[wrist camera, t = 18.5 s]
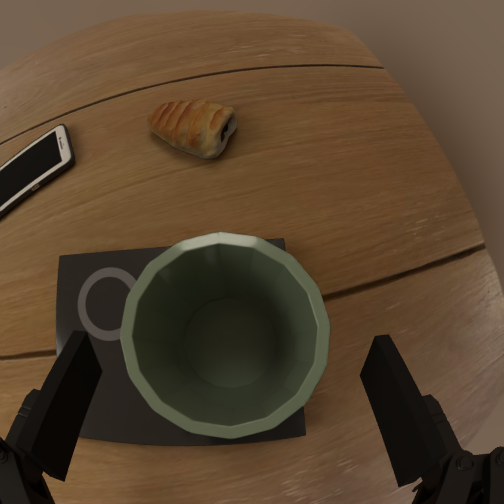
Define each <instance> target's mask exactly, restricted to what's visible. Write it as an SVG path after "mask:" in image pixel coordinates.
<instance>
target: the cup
mask: <svg viewBox="0 0 504 504" xmlns="http://www.w3.org/2000/svg"><path fill="white" fill-rule="evenodd" d="M330 330H331V326H330V321H329V318H328V314H327V311H326V308H325V305H324V302H323V299H322V295H321V292H320V289H319V288H318V285H317V284H316V283H315V282H314V281H313V279H312V278H311V277H310V276H309V274H308V273H307V272H306V271H305V270H304V268H303V267H302V266H301V265H300V264H299V262H298V261H297V260H296V259H295V258H294V257H292V255H290V254H289V253H287V252H285V251H283V250H281V249H280V248H278V247H276V246H274V245H272V244H270V243H269V242H267V241H265V240H263V239H261V238H259V237H257V236H250V235H242V234H235V233H227V232H215V233H210V234H206V235H202V236H198V237H194V238H190V239H186V240H182V241H181V242H178V243H177V244H175V245H174V246H172V247H171V248H169V249H168V250H167V251H165V252H164V253H162V254H161V255H159V256H158V257H157V258H155V259H154V260H152V261H151V262H150V263H149V264H148V265H147V266H146V268H145V269H144V271H143V272H142V274H141V275H140V277H139V278H138V280H137V282H136V283H135V285H134V286H133V288H132V289H131V291H130V293H129V294H128V296H127V299H126V304H125V309H124V314H123V320H122V326H121V332H120V340H121V345H122V349H123V354H124V358H125V363H126V367H127V371H128V375H129V377H130V379H131V380H132V382H133V383H134V385H135V386H136V388H137V389H138V390H139V392H140V393H141V395H142V396H143V397H144V399H145V400H146V401H147V403H148V404H149V406H150V407H151V408H152V409H153V410H154V411H155V412H157V413H158V414H160V415H161V416H163V417H164V418H166V419H168V420H169V421H171V422H172V423H174V424H176V425H177V426H179V427H181V428H182V429H184V430H186V431H188V432H191V433H195V434H201V435H207V436H213V437H220V438H228V439H235V438H239V437H243V436H247V435H251V434H255V433H259V432H263V431H266V430H270V429H272V428H275V427H276V426H278V425H279V424H280V423H282V422H283V421H284V420H286V419H287V418H288V417H289V416H291V415H292V414H293V413H295V412H296V411H297V410H298V409H300V408H301V407H302V406H303V405H305V404H306V402H307V401H308V400H309V398H310V396H311V395H312V393H313V391H314V389H315V387H316V386H317V384H318V382H319V380H320V378H321V377H322V375H323V373H324V371H325V369H326V366H327V361H328V352H329V341H330Z"/></svg>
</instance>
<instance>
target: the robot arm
mask: <svg viewBox="0 0 504 504" xmlns="http://www.w3.org/2000/svg"><path fill="white" fill-rule="evenodd" d="M102 372H103V371H102V368H101V366H100V364H99V361H98V359H97V356H96V354H95V351H94V349H93V346H92V344H91V341H90V338H89V336H88V333H87V332H86V331H78V330H73V332H72V334H71V335H70V337H69V339H68V340H67V342H66V344H65V346H64V347H63V349H62V351H61V353H60V354H59V356H58V358H57V360H56V361H55V363H54V365H53V367H52V369H51V371H50V372H49V374H48V376H47V378H46V380H45V382H44V384H43V386H42V388H41V390H36V389H33V390H32V391H31V392H30V393H29V394H28V395H27V396H26V397H25V399H24V401H23V403H22V405H21V406H22V407H20V409H19V411H18V415H17V416H16V418H15V420H14V422H13V424H12V426H11V428H10V431H9V433H8V435H7V437H6V439H5V441H4V440H3V439H2V438H1V437H0V504H55V502H54V500H53V498H52V496H51V493H50V491H49V489H48V486H47V484H46V482H45V479H44V478H43V476H42V473H43V471H44V472H45V473H46V474H48V475H49V476H50V477H53V478H56V479H58V480H61V481H64V482H65V478H66V475H67V472H68V468H69V465H70V462H71V458H72V455H73V452H74V449H75V446H76V443H77V440H78V437H79V434H80V431H81V428H82V425H83V422H84V419H85V417H86V414H87V411H88V408H89V406H90V403H91V400H92V398H93V395H94V393H95V390H96V387H97V385H98V382H99V380H100V377H101V375H102ZM360 377H361V380H362V383H363V385H364V388H365V391H366V393H367V396H368V399H369V401H370V404H371V407H372V410H373V412H374V415H375V418H376V421H377V423H378V426H379V429H380V432H381V435H382V438H383V441H384V444H385V446H386V449H387V452H388V455H389V458H390V461H391V465H392V468H393V471H394V474H395V477H396V480H397V483H398V487H401V486H404V485H407V484H410V483H413V482H415V481H416V480H418V479H419V478H420V477H421V478H422V480H423V481H422V482H421V483H420V484H418V485H417V486H416V487H415V488H414V489H413V490H412V492H415V491H416V490H418V491H417V493H416V496H415V498H414V500H413V502H412V504H504V447H497V448H495V449H494V450H493V451H492V452H491V453H490V454H481V455H473V454H472V453H470V452H469V451H466V450H463V449H462V448H461V446H460V445H459V443H458V441H457V438H456V436H455V434H454V432H453V430H452V428H451V426H450V424H449V422H448V421H447V418H446V416H445V414H444V413H443V410H442V408H441V406H440V404H439V402H438V401H437V400H436V399H435V398H434V397H433V396H432V395H431V394H429V395H426V396H422V395H421V393H420V391H419V389H418V387H417V385H416V384H415V382H414V380H413V378H412V376H411V374H410V372H409V370H408V368H407V366H406V364H405V363H404V361H403V359H402V357H401V355H400V353H399V352H398V350H397V348H396V346H395V344H394V342H393V341H392V339H391V337H390V335H379V336H375V337H374V340H373V342H372V345H371V348H370V350H369V353H368V356H367V358H366V361H365V363H364V366H363V368H362V371H361V373H360Z"/></svg>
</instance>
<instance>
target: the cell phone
mask: <svg viewBox="0 0 504 504" xmlns="http://www.w3.org/2000/svg"><path fill="white" fill-rule="evenodd" d="M46 133H47V134H46ZM46 133H45V134H43V135H44V136H43V135H42V136H40V137H39V138H38V139H36V140H35V141H33V142H34V143H33V142H32V143H31V144H29V145H28V146H26V147H25V148H24V149H22V150H21V151H20V152H18V153H17V154H16V155H14V156H13V157H12V158H11V159H9V160H8V161H7V162H6V163H4V164H3V165H2V166H1V167H0V217H2V216H3V215H4V214H5V213H6V212H8V211H9V210H10V209H11V208H13V207H14V206H15V205H16V204H18V203H19V202H20V201H21V200H23V199H24V198H25V197H27V196H28V195H29V194H31V193H32V192H33V191H35V190H36V189H37V188H39V187H41V186H42V185H44V184H45V183H46V182H48V181H49V180H51V179H52V178H54V177H55V176H56V175H58V174H59V173H61V172H62V171H64V170H65V169H67V168H69V167H70V166H71V165H72V164H73V163H74V161H75V156H74V152H73V148H72V145H71V141H70V137H69V134H68V130H67V128H66V126H65V125H64V124H59V125H57V126H56V127H54V128H53V129H51V130H49V131H48V132H46Z"/></svg>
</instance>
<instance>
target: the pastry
mask: <svg viewBox="0 0 504 504" xmlns="http://www.w3.org/2000/svg"><path fill="white" fill-rule="evenodd" d="M148 124H149V128H150V130H151V132H153V133H155V134H156V135H157V136H159V137H160V138H161V139H162V140H164V141H166V142H167V143H169V144H170V145H171V146H172V147H173V148H178V149H180V150H181V151H184V152H187V153H189V154H193V155H196V156H197V157H200V158H204V159H213V158H217V157H218V156H219V155H220V154H221V153H222V151H223V150H224V148H225V146H226V143H227V141H228V137H229V136H230V135H231V134H232V133H233V132H234V131H235V129H236V127H237V115H236V112H235V111H234V109H232V107H225V106H223V105H221V104H218V103H215V102H209V101H206V100H204V99H198V100H192V101H176V102H170V103H165V104H163V105H161V106H160V107H158V108H157V109H156V110H155V111H154V112H153V114H151V115H149V116H148Z"/></svg>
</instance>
